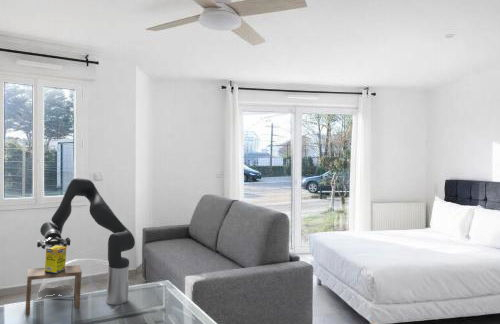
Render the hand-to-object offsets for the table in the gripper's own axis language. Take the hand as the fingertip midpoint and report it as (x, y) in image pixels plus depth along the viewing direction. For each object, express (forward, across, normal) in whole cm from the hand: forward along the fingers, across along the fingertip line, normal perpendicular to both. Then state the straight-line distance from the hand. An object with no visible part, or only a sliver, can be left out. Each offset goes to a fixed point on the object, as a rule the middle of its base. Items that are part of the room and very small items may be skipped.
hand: (54, 246), depth 178 cm
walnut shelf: (+11, 0, +24) cm, 27 cm away
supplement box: (+12, 0, +8) cm, 15 cm away
